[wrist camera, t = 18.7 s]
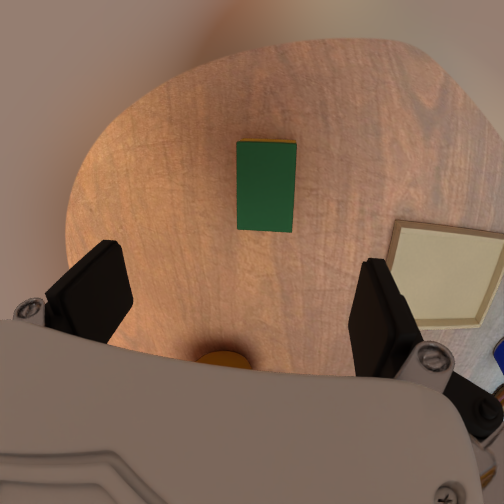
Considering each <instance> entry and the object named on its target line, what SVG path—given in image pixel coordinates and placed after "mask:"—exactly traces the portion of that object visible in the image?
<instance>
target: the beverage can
mask: <svg viewBox="0 0 504 504" xmlns="http://www.w3.org/2000/svg"><path fill="white" fill-rule="evenodd" d="M494 358H495V360H496V361H497V363H498V365H499V367H500V369H501V371H502V373H503V375H504V338H503V339H502V340H501V341H500V342H499V343H498V344H497V346H496V347H495V350H494Z"/></svg>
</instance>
